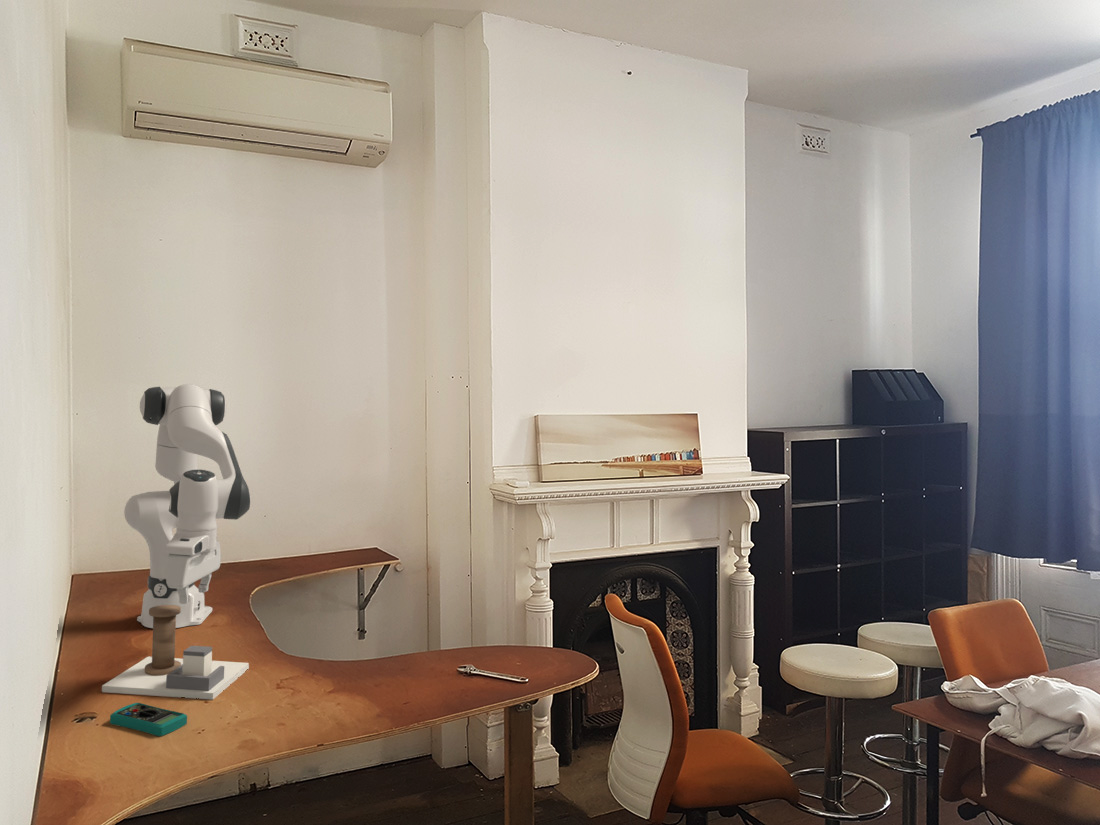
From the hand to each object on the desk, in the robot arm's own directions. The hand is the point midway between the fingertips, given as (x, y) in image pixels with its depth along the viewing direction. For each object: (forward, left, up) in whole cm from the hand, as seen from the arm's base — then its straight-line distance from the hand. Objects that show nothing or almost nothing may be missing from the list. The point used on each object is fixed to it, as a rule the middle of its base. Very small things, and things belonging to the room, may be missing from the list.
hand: (194, 597), depth 193 cm
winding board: (-3, -4, -21) cm, 22 cm away
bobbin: (-5, -9, -20) cm, 22 cm away
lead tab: (+2, +2, -20) cm, 20 cm away
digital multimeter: (+21, +1, -22) cm, 31 cm away
